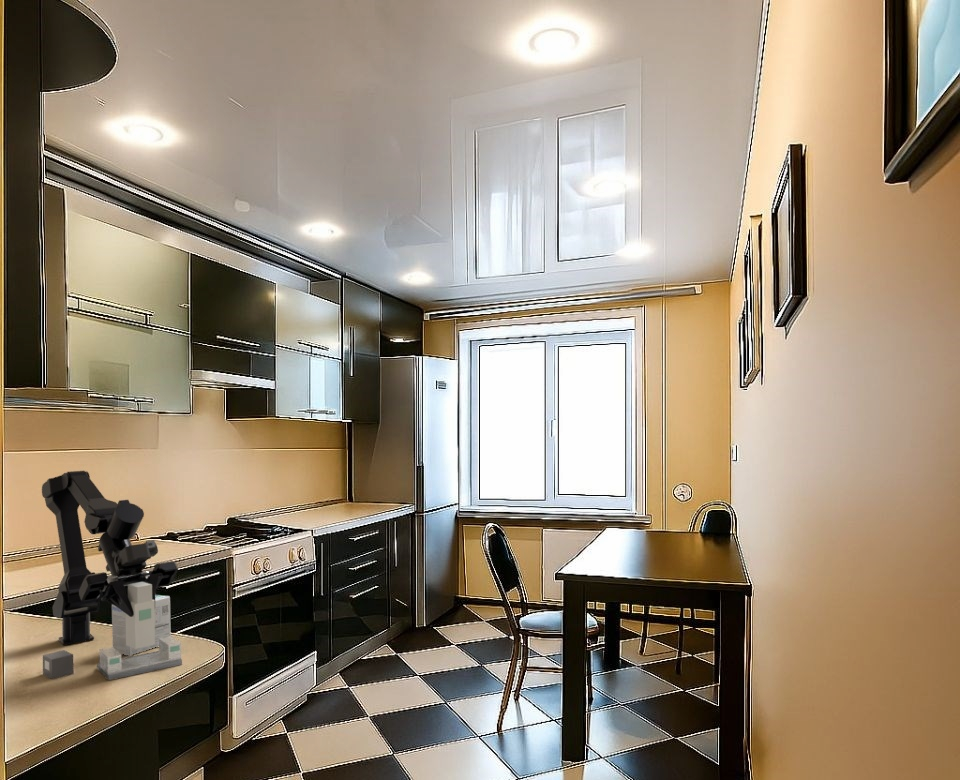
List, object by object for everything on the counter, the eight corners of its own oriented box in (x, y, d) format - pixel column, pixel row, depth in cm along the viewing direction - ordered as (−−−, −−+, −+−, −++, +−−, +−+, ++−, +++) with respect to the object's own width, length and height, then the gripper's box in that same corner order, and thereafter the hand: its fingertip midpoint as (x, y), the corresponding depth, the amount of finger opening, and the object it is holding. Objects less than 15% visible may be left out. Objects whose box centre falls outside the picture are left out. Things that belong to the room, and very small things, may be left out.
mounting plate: (97, 668, 154) (96, 646, 154) (167, 653, 163) (167, 633, 163) (108, 680, 146) (108, 658, 146) (182, 664, 155) (181, 643, 155)
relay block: (42, 675, 151) (42, 655, 152) (64, 669, 154) (63, 650, 155) (51, 680, 148) (51, 659, 148) (73, 674, 151) (73, 654, 151)
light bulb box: (153, 639, 174) (153, 593, 175) (172, 643, 171) (171, 595, 171) (110, 652, 165) (110, 603, 165) (129, 656, 162) (128, 606, 162)
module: (125, 644, 154) (125, 584, 154) (145, 640, 157) (144, 581, 157) (135, 649, 151) (135, 587, 151) (155, 644, 154) (154, 584, 154)
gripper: (84, 535, 150) (107, 598, 143) (173, 523, 164) (199, 580, 157) (69, 570, 155) (91, 632, 148) (157, 556, 169) (181, 612, 162)
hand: (143, 613), depth 153 cm, fingers closed on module, 4 cm apart
